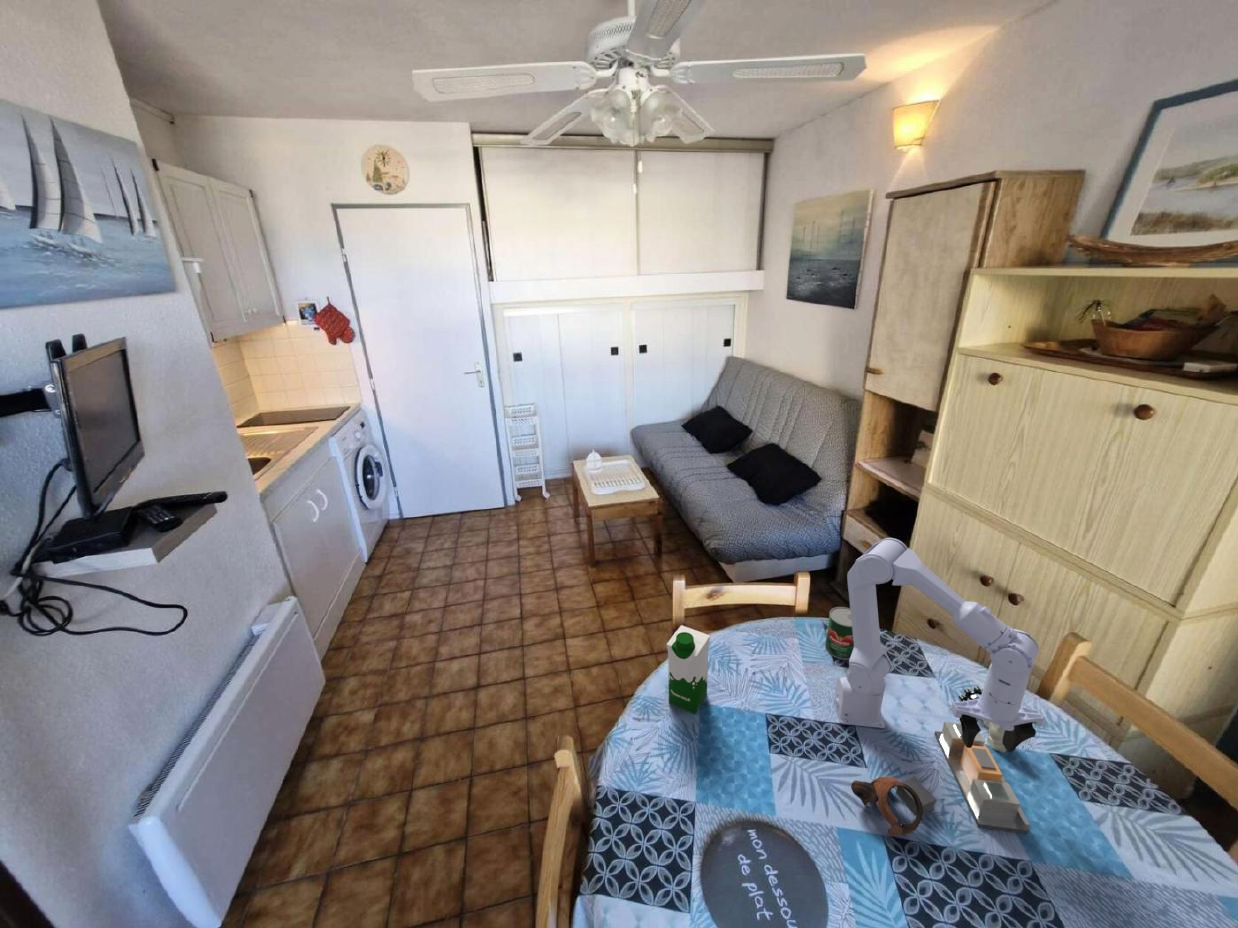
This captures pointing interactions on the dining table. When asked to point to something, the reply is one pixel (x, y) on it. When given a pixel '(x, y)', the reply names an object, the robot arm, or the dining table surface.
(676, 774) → the dining table surface
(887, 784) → the knobbed brown ring
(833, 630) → the canned tomato
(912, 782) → the dark gray block
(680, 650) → the milk carton
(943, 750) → the rail plate
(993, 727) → the valve
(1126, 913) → the dining table surface
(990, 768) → the orange module
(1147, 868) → the dining table surface
